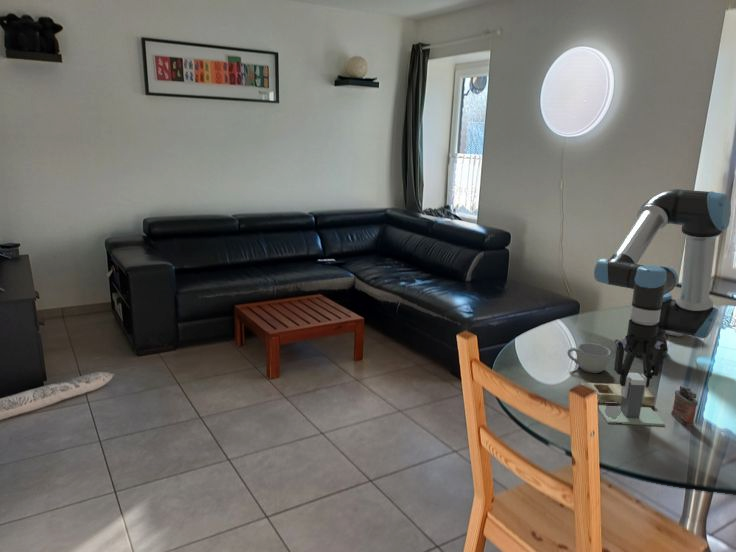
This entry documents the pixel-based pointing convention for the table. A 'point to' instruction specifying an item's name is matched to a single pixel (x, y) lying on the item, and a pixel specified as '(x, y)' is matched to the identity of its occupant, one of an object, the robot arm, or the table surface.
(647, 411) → the mat
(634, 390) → the gray rectangular block
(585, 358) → the teacup
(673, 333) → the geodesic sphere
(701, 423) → the table surface
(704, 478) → the table surface
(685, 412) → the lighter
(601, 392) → the block
